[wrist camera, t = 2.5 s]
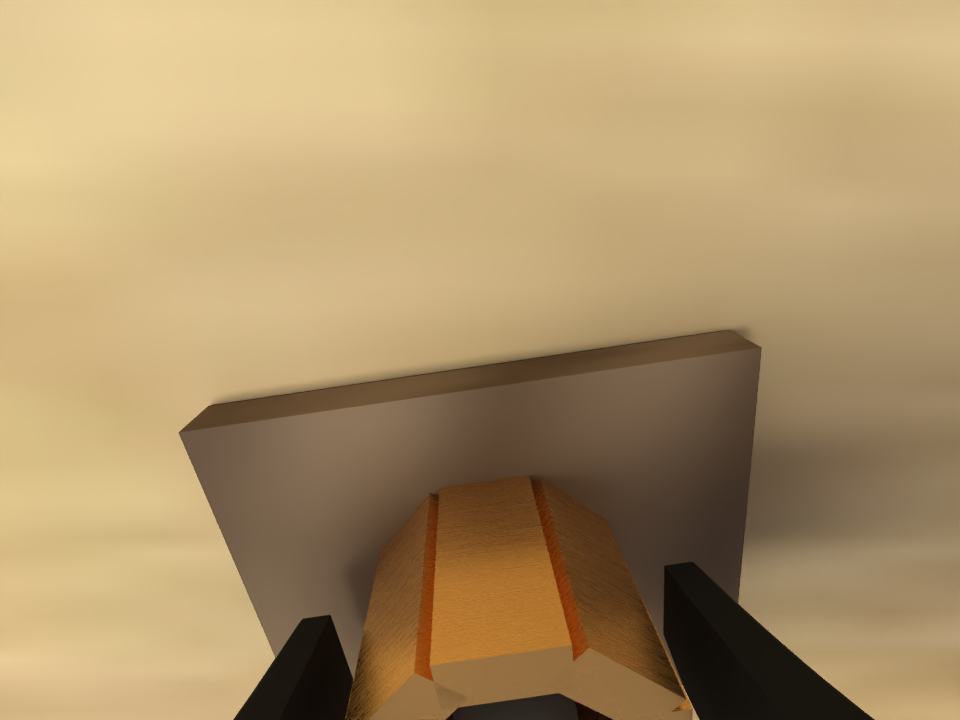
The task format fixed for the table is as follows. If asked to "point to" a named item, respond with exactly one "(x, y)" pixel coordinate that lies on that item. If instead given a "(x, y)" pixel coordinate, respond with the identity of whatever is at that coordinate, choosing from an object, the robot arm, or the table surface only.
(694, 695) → the robot arm
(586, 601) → the collar
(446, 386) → the stand
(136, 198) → the table surface
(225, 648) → the table surface
